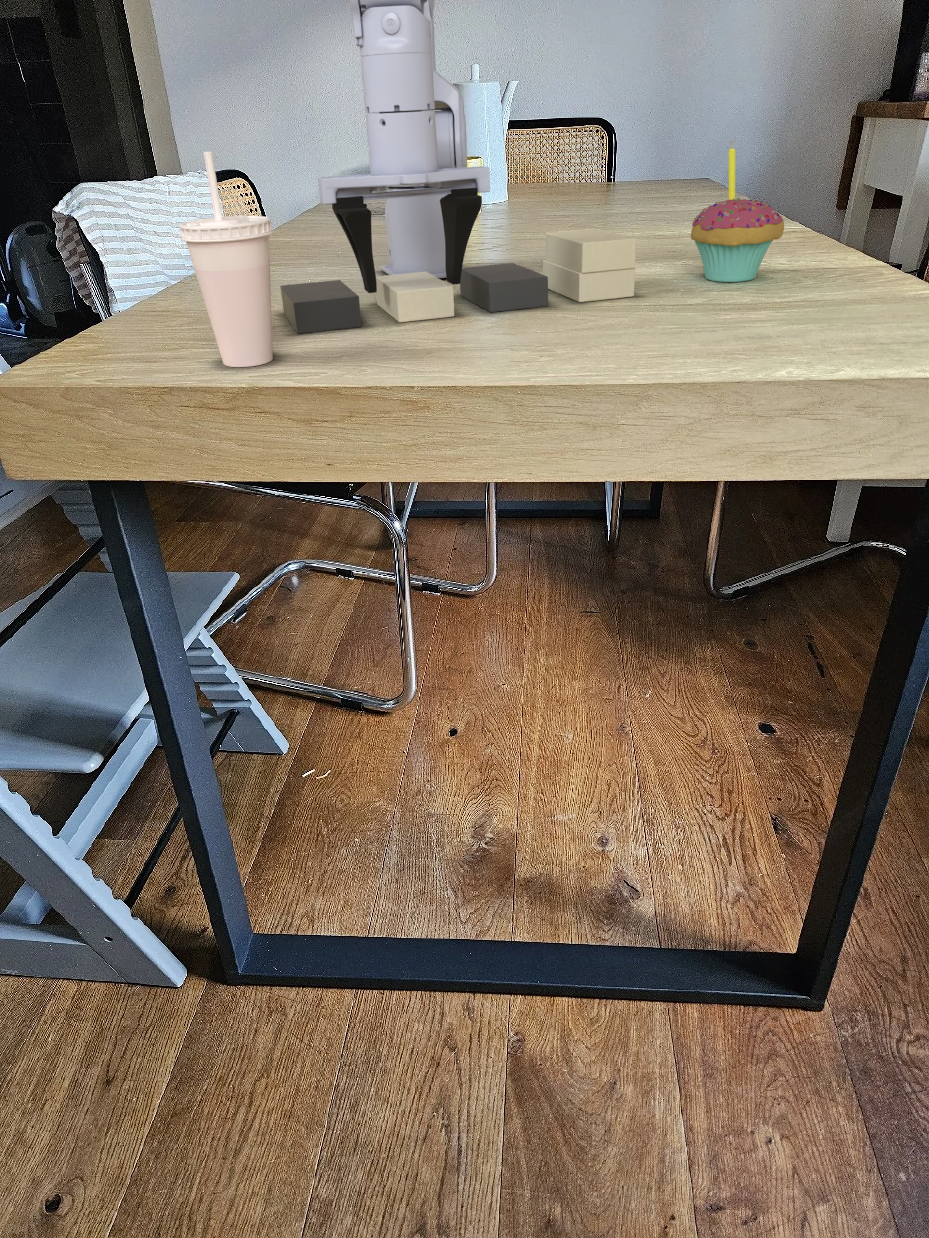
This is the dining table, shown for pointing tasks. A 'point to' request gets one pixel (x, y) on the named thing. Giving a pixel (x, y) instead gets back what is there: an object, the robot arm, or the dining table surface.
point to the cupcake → (735, 233)
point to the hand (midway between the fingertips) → (412, 287)
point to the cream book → (415, 296)
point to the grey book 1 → (321, 306)
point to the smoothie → (233, 278)
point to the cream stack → (590, 264)
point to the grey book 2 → (504, 287)
